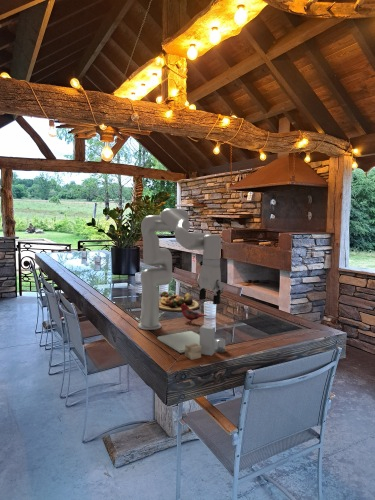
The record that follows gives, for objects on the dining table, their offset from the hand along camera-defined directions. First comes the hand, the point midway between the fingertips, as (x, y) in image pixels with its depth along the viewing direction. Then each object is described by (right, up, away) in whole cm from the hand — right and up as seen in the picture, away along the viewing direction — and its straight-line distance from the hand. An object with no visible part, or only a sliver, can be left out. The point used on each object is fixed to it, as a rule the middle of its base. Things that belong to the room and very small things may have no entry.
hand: (209, 301), depth 156 cm
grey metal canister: (+5, -23, +6) cm, 25 cm away
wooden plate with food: (-18, -16, +85) cm, 89 cm away
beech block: (-7, -24, -2) cm, 25 cm away
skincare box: (-1, -24, +2) cm, 24 cm away
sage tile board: (-10, -22, +15) cm, 28 cm away
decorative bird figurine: (-7, -19, +47) cm, 51 cm away
